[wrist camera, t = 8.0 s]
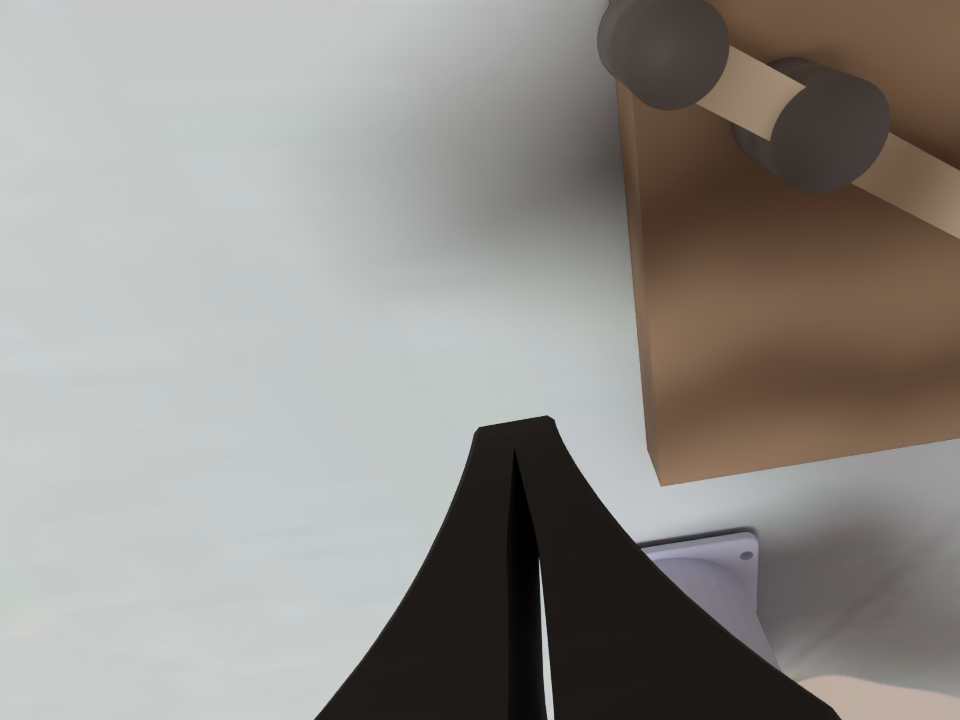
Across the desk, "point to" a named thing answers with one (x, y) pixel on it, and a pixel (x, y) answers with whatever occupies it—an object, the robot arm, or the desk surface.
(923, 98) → the board
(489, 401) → the desk surface
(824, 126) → the lever
